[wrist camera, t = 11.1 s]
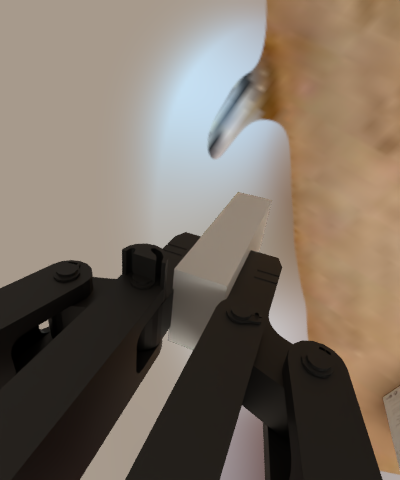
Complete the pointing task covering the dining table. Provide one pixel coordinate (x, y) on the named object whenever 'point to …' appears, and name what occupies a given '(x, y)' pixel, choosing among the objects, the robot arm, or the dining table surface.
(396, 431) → the supplement box
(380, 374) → the dining table surface
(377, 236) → the dining table surface
